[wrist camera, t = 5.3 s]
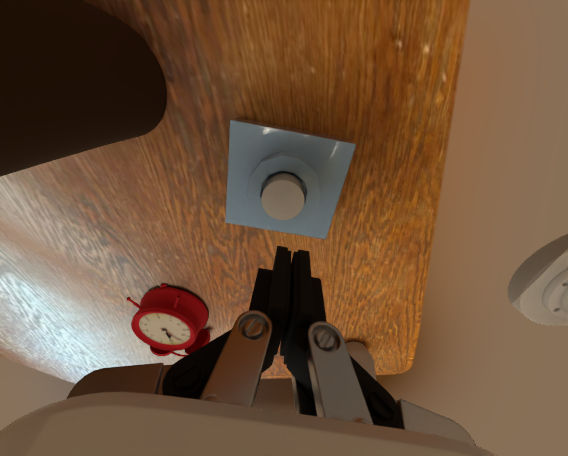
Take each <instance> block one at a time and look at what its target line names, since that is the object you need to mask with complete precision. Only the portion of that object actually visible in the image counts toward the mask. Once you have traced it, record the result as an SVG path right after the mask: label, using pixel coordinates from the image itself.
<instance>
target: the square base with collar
mask: <svg viewBox="0 0 568 456" xmlns="http://www.w3.org/2000/svg"><path fill="white" fill-rule="evenodd" d="M355 147H356V144H355V143H353V142H352V141H350V140H349V139H345V138H340V137H335V136H329V135H324V134H319V133H314V132H309V131H304V130H299V129H294V128H288V127H283V126H278V125H273V124H268V123H263V122H258V121H253V120H247V119H242V118H236V119H232V120H230V137H229V159H228V180H227V202H226V223H232V224H238V225H244V226H250V227H256V228H261V229H267V230H273V231H279V232H285V233H291V234H297V235H303V236H309V237H315V238H321V239H326V237H327V234H328V231H329V228H330V225H331V222H332V218H333V215H334V212H335V209H336V206H337V203H338V200H339V197H340V194H341V190H342V187H343V184H344V181H345V178H346V175H347V172H348V169H349V165H350V162H351V159H352V156H353V153H354V150H355ZM279 173H288V174H291V175H293V176H295V177H296V178H297V179H298V180H299V181H300V182H301V184H302V186H303V191H304V206H303V209H302V210H301V212H300V213H299V214H298V215H297V216H295V217H294V218H291V219H288V220H278V219H275V218H273V217H271V216H270V215H268V214H267V213H266V211H265V210H264V208H263V206H262V202H261V197H262V193H263V190H264V187H265V184H266V183H267V181H268V180H269V179H270V178H271V177H272V176H274V175H276V174H279Z"/></svg>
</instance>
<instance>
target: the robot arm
mask: <svg viewBox="0 0 568 456" xmlns="http://www.w3.org/2000/svg"><path fill="white" fill-rule="evenodd" d="M543 304H544V306H545V307H546V308H547V309H548V310H549V311H550V312H551V313H553V314H554V315H556V316H558V317H561V318H567V319H568V268H567V269H566V270H564V271H563V272H561V273H560V274H559V275H558V276H556V277H555V278H554V279H553V280H552V281H551V282H550V284H549V285H548V286H547V288H546V289H545V291H544V294H543ZM280 341H281V346H280V355H281V356H284V364H287V368H288V370H289V371H290V372H291V373H292V386H293V395H294V403H295V412H296V413H289V412H282V411H275V410H268V409H261V408H254V407H253V404H254V400H255V397H256V393H257V389H258V386H259V382H260V378H261V375H262V373H263V372H264V371H265V370H266V369H268V368H269V367H270V366H271V365H272V363H273V359H274V355H277V352H278V348H279V345H280ZM0 456H497V455H495V454H493V453H491V452H489V451H487V450H485V449H482V448H480V447H478V446H476V444H475V443H474V440H473V439H472V438H471V436H470V435H469V434H468V432H467V431H466V430H465V429H464V428H463V427H462V426H460V425H459V424H458V423H456V422H455V421H453V420H451V419H449V418H446V417H444V416H441V415H439V414H436V413H434V412H431V411H429V410H427V409H424V408H422V407H419V406H417V405H414V404H412V403H409V402H407V401H405V400H402V399H399V400H398V401H397V400H395V399H393V397H392V396H391V395H390V394H389V393H388V392H387V391H386V390H385V389H384V388H383V387H382V386H381V385H380V384H379V383H378V382H377V381H376V380H375V379H374V378H373V377H372V376H371V375H370V374H369V373H368V372H367V371H366V370H365V369H364V368H363V367H362V366H361V365H360V364H359V363H358V362H357V361H356V360H355V359H354V358H352V357H351V356H350V355H349V353H348V350H347V347H346V344H345V341H344V339H343V336H342V334H341V332H340V331H339V330H338V329H337V328H336V327H335V326H333V325H332V324H330V323H328V322H326V314H325V307H324V300H323V292H322V285H321V280H320V279H319V278H314V277H311V268H310V256H309V251H304V250H298V252H294V254H293V258H292V262H291V251H288V248H287V247H281V246H277V251H276V256H275V261H274V266H273V270H267V269H261V268H259V269H258V274H257V278H256V282H255V286H254V291H253V295H252V299H251V303H250V308H249V311H247V312H244V313H242V314H241V315H240V316H239V317H238V318H237V320H236V322H235V324H234V326H233V328H232V329H231V330H230V331H228V332H226V333H225V334H223V335H221V336H219V337H218V338H216V339H214V340H213V341H211V342H209V343H207V344H206V345H204V346H202V347H201V348H199V349H197V350H196V351H194V352H192V353H190V354H189V355H187V356H185V357H184V358H182V359H180V360H179V361H177V362H176V363H175V364H173V365H164V364H163V363H156V364H144V365H133V366H122V367H111V368H103V369H99V370H95V371H93V372H91V373H89V374H87V375H86V376H84V377H83V378H82V379H81V380H80V381H78V382H77V383H76V385H75V386H74V387H73V389H72V390H71V391H70V393H69V395H68V397H67V399H65V400H62V401H58V402H55V403H52V404H49V405H47V406H44V407H42V408H39V409H36V410H34V411H32V412H30V413H28V414H26V415H24V416H22V417H20V418H19V419H17V420H15V421H14V422H12V423H11V424H10V425H8V426H7V427H5V428H4V429H3V430H1V431H0Z"/></svg>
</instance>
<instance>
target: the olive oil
mask: <svg viewBox="0 0 568 456" xmlns="http://www.w3.org/2000/svg"><path fill="white" fill-rule="evenodd" d="M165 104H166V90H165V83H164V79H163V75H162V72H161V70H160V67H159V65H158V62H157V60H156V58H155V57H154V55H153V53H152V52H151V50H150V49H149V47H148V46H147V44H146V43H145V42H144V41H143V39H142V38H141V37H140V36H139V35H138V34H137V33H136V32H135V31H134V30H133V29H131V28H130V27H129V26H128V25H126V24H125V23H124V22H122V21H121V20H119V19H117V18H116V17H114V16H112V15H110V14H108V13H106V12H105V11H103V10H101V9H99V8H97V7H95V6H93V5H91V4H90V3H88V2H86V1H84V0H0V176H3V175H7V174H10V173H13V172H16V171H20V170H23V169H26V168H30V167H33V166H36V165H39V164H43V163H46V162H49V161H53V160H56V159H59V158H63V157H66V156H70V155H73V154H76V153H80V152H83V151H87V150H90V149H93V148H97V147H100V146H104V145H108V144H111V143H115V142H119V141H123V140H127V139H130V138H134V137H138V136H141V135H144V134H146V133H148V132H150V131H151V130H152V129H154V128H155V127H156V126H157V124H158V123H159V122H160V120H161V118H162V116H163V113H164V109H165Z"/></svg>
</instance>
